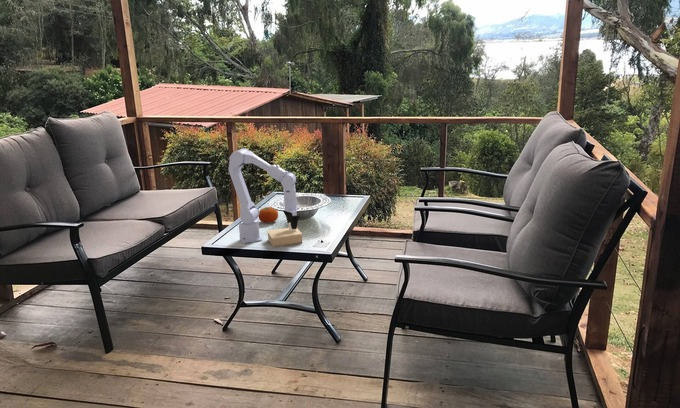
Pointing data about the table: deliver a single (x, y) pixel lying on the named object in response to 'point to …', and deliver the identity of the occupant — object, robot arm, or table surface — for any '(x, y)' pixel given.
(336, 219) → the table surface
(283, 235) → the lid
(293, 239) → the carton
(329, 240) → the table surface
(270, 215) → the fruit
